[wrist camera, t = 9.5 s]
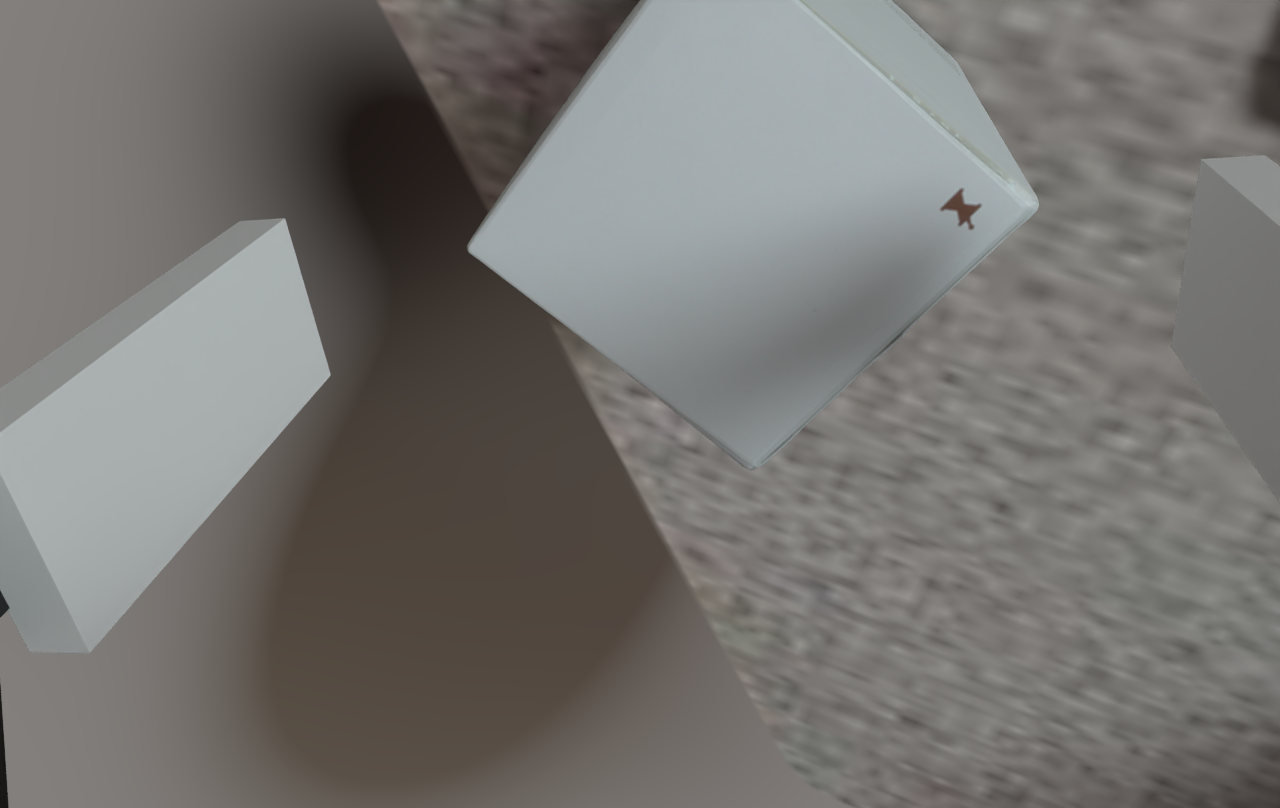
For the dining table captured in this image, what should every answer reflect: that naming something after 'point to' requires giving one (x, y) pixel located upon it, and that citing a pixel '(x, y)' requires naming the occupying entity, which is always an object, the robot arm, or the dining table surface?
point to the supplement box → (756, 204)
